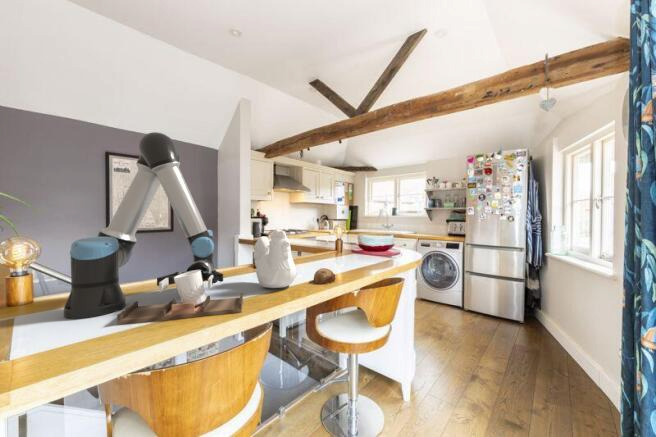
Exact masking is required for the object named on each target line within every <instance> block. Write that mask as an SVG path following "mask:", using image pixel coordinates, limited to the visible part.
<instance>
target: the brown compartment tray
mask: <svg viewBox="0 0 656 437" xmlns="http://www.w3.org/2000/svg"><path fill="white" fill-rule="evenodd" d="M243 301H244V293H243V292H240V293H239V297H232V298H219V299H211V295H207V296H206V300H205V301H204V302H202V303H200V304H198V305H195V303H185V304H182V302H176V298H172V299H171V300H170V301H168V303H163V304H162V303H161V304H149V305H140V306H139V301H135V302H133V303H132V304H129V306H127V307H126V308H125V309H124V310H122V311H121V312H120V313H118V314H117V318H116V320H117V321H116V322H117V326H119V325H131V324H138V323H139V324H141V323H149V322H158V321H159V322H160V321H168V320H171V321H172V320H179V319H190V318H200V317H208V316H217V315H218V316H219V315H228V314H238V313H242V311H243V303H244V302H243Z"/></svg>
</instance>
